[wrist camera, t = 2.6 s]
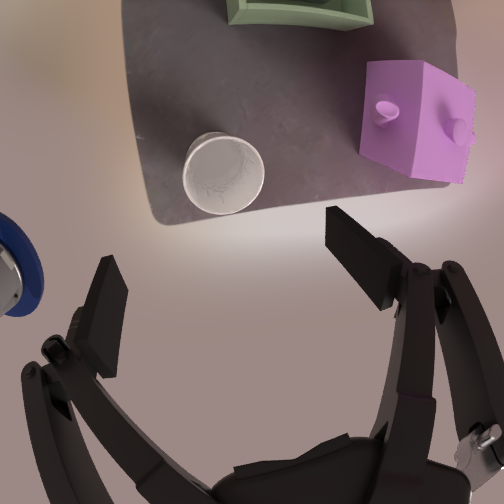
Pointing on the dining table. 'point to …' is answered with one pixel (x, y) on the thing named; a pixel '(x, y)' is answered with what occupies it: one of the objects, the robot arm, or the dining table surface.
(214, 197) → the white cup
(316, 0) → the grey block
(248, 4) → the crate
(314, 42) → the dining table surface
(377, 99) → the teapot
